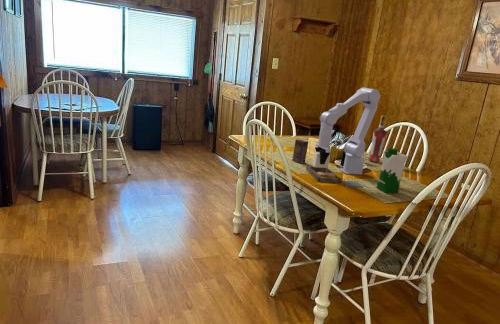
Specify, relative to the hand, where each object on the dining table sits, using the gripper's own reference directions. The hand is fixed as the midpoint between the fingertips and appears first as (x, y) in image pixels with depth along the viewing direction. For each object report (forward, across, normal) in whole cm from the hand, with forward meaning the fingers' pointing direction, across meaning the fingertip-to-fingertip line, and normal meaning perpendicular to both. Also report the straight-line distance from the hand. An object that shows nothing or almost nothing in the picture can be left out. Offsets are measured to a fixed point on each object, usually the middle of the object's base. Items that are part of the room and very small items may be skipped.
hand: (320, 162), depth 183 cm
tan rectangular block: (+6, +10, 0) cm, 11 cm away
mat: (+5, +16, +11) cm, 20 cm away
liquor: (+6, -30, +47) cm, 56 cm away
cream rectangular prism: (+2, 0, 0) cm, 2 cm away
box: (+6, -18, -5) cm, 20 cm away
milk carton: (+6, +22, +26) cm, 34 cm away
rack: (+5, +4, 0) cm, 7 cm away
